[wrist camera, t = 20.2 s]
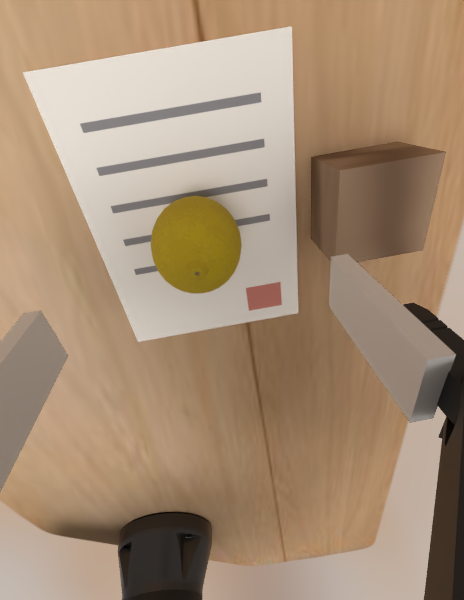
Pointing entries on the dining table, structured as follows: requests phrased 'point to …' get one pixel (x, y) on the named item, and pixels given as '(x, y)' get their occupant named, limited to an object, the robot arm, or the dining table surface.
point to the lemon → (196, 244)
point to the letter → (183, 168)
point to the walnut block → (374, 199)
